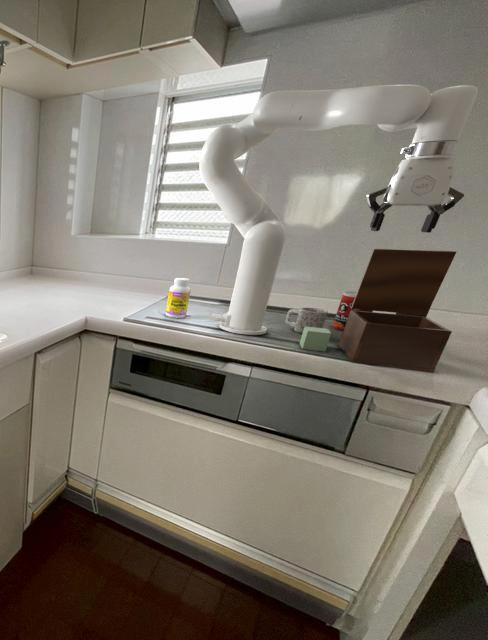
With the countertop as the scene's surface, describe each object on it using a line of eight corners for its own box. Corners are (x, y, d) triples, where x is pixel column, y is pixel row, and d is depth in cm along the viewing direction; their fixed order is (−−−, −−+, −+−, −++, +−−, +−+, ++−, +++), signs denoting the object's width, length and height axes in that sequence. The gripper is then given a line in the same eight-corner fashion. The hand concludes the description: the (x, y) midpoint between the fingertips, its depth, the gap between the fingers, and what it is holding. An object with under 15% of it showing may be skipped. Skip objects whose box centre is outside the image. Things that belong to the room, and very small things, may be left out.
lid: (456, 251, 92) (447, 247, 97) (374, 249, 99) (369, 245, 103) (426, 315, 100) (419, 309, 104) (351, 308, 106) (347, 303, 110)
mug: (325, 332, 121) (332, 310, 119) (314, 335, 118) (321, 313, 116) (288, 324, 129) (294, 304, 127) (278, 327, 126) (283, 307, 124)
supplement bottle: (165, 317, 139) (172, 279, 134) (164, 313, 145) (170, 276, 140) (186, 319, 137) (194, 280, 132) (184, 314, 143) (191, 277, 138)
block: (302, 348, 108) (307, 330, 106) (299, 343, 112) (304, 326, 110) (325, 351, 105) (331, 333, 103) (321, 346, 109) (327, 328, 108)
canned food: (325, 325, 128) (337, 291, 124) (351, 325, 128) (363, 291, 124) (344, 332, 121) (357, 296, 117) (371, 332, 121) (385, 296, 117)
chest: (433, 372, 92) (452, 331, 88) (352, 361, 98) (366, 323, 95) (409, 353, 104) (425, 316, 100) (338, 345, 110) (350, 310, 107)
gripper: (388, 152, 92) (361, 231, 99) (493, 148, 85) (455, 233, 92) (375, 155, 98) (350, 229, 105) (471, 152, 92) (438, 231, 98)
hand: (399, 231), depth 99 cm, fingers open, 9 cm apart
